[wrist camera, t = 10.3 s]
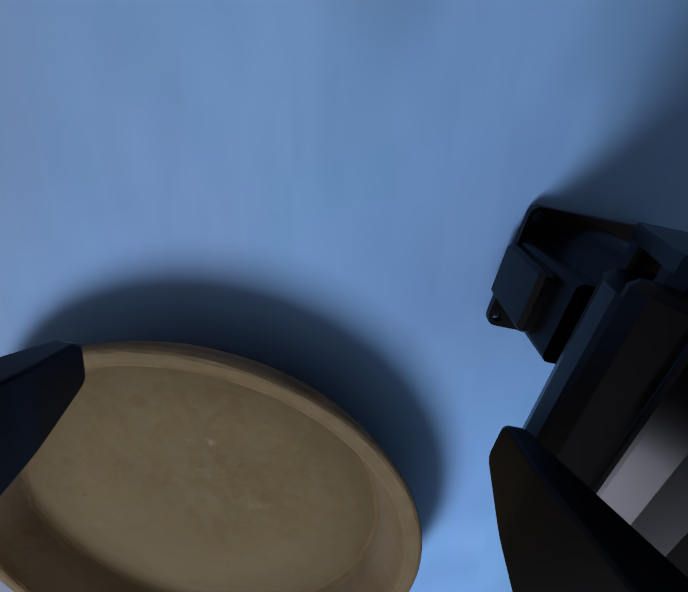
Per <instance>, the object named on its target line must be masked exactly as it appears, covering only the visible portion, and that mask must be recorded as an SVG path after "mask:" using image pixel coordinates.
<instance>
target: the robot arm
mask: <svg viewBox="0 0 688 592" xmlns="http://www.w3.org/2000/svg"><path fill="white" fill-rule="evenodd" d="M538 212H541V217H540V218H539V219H538V220H536V221H534V220H533V217H534V215H535V214H536V213H538ZM491 290H492V292H493V297H492V299H491V302H490V304H489V307H488V309H487V312H486V317H487V319H488V321H489V322H490V323H491V324H493V325H496V326H501V327H506V328H511V329H516V330H519V331H521V332H525V334H526V335H527V337H528V338H529V340H530V341H531V343H532V344H533V345H534V347H535V348H536V350H537V351H538V353H539V354H540V355H541V357H542V358H543V360H544V361H546V362H549V363H554V364H556V365H555V367H554V369H553V370H552V372H551V374H550V376H549V378H548V380H547V382H546V384H545V386H544V388H543V390H542V392H541V393H540V395H539V397H538V399H537V401H536V403H535V405H534V407H533V409H532V411H531V413H530V415H529V417H528V418H527V420H526V422H525V424H524V426H523V428H518V427H513V426H505V427H503V428H502V430H501V432H500V434H499V436H498V438H497V440H496V442H495V444H494V446H493V448H492V450H491V452H490V456H489V466H490V474H491V481H492V488H493V495H494V503H495V510H496V517H497V524H498V530H499V536H500V541H501V545H502V550H503V554H504V558H505V562H506V566H507V570H508V575H509V579H510V583H511V587H512V591H513V592H688V232H684V231H679V230H674V229H669V228H665V227H660V226H655V225H650V224H645V223H640V222H638V224H637V225H633V224H628V223H623V222H618V221H614V220H609V219H604V218H599V217H594V216H589V215H585V214H580V213H575V212H570V211H565V210H560V209H556V208H551V207H546V206H541V205H535V206H532V207H531V208H529V209H528V210H527V212H526V214H525V216H524V219H523V221H522V224H521V226H520V229H519V231H518V234H517V236H516V239H515V241H514V243H512V244H511V245H509V246H508V248H507V250H506V253H505V255H504V258H503V260H502V263H501V265H500V268H499V271H498V273H497V276H496V278H495V281H494V283H493V286H492V289H491ZM496 313H500V315H499V317H497V318H493V316H494V314H496ZM84 381H85V367H84V359H83V352H82V347H81V346H80V345H79V344H78V343H75V342H69V341H64V340H55V341H52V342H48V343H45V344H42V345H38V346H35V347H32V348H29V349H25V350H22V351H19V352H15V353H12V354H9V355H6V356H2V357H0V496H1V495H2V494H3V492H4V491H5V490H6V489H7V488H8V486H9V485H10V484H11V483H12V482H13V480H14V479H15V478H16V477H17V476H18V474H19V473H20V472H21V471H22V470H23V468H24V467H25V466H26V465H27V464H28V462H29V461H30V460H31V459H32V457H33V456H34V455H35V454H36V452H37V451H38V450H39V448H40V447H41V446H42V444H43V443H44V442H45V440H46V439H47V437H48V436H49V434H50V433H51V431H52V430H53V428H54V427H55V426H56V424H57V423H58V421H59V420H60V418H61V417H62V415H63V414H64V412H65V411H66V409H67V408H68V407H69V405H70V404H71V402H72V401H73V399H74V398H75V396H76V395H77V393H78V392H79V390H80V389H81V387H82V386H83V383H84Z"/></svg>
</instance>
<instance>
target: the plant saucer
mask: <svg viewBox="0 0 688 592" xmlns="http://www.w3.org/2000/svg"><path fill="white" fill-rule="evenodd" d="M81 347H82V352H83V359H84V367H85V381H84V383H83V386H82V387H81V389H80V390H79V392H78V393H77V395H76V396H75V398H74V399H73V401H72V402H71V404H70V405H69V407H68V408H67V409H66V411H65V412H64V414H63V415H62V417H61V418H60V420H59V421H58V423H57V424H56V426H55V427H54V428H53V430H52V431H51V433H50V434H49V436H48V437H47V439H46V440H45V442H44V443H43V444H42V446H41V447H40V448H39V450H38V451H37V452H36V454H35V455H34V456H33V457H32V459H31V460H30V461H29V462H28V464H27V465H26V466H25V467H24V468H23V470H22V471H21V472H20V473H19V474H18V476H17V477H16V478H15V479H14V480H13V482H12V483H11V484H10V485H9V486H8V488H7V489H6V490H5V491H4V492H3V494H2V495H1V496H0V581H1V582H3V583H4V584H5V585H6V586H7V587H9V588H10V589H11V590H12V591H14V592H409V591H410V589H411V587H412V585H413V583H414V580H415V578H416V576H417V573H418V569H419V565H420V560H421V552H422V533H421V525H420V519H419V515H418V511H417V508H416V505H415V502H414V499H413V496H412V494H411V492H410V490H409V488H408V486H407V484H406V482H405V480H404V478H403V477H402V475H401V473H400V472H399V470H398V469H397V467H396V466H395V464H394V463H393V461H392V460H391V459H390V457H389V456H388V454H387V453H386V452H385V451H384V450H383V448H382V447H381V446H380V445H379V444H378V443H377V442H376V441H375V440H374V438H373V437H372V436H371V435H370V434H369V433H368V432H367V431H366V430H365V429H364V428H363V427H362V426H361V425H360V424H359V423H358V422H357V421H356V420H355V419H354V418H352V417H351V416H350V415H349V414H348V413H347V412H346V411H345V410H343V409H342V408H341V407H339V406H338V405H337V404H335V403H334V402H333V401H331V400H330V399H329V398H327V397H326V396H324V395H323V394H322V393H320V392H319V391H317V390H315V389H314V388H312V387H310V386H309V385H307V384H306V383H304V382H302V381H300V380H298V379H296V378H294V377H292V376H290V375H288V374H286V373H284V372H282V371H279V370H277V369H275V368H273V367H270V366H268V365H265V364H263V363H260V362H258V361H255V360H252V359H248V358H245V357H242V356H239V355H235V354H232V353H228V352H224V351H221V350H217V349H212V348H208V347H203V346H197V345H192V344H186V343H176V342H163V341H119V342H107V343H97V344H88V345H82V346H81Z"/></svg>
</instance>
